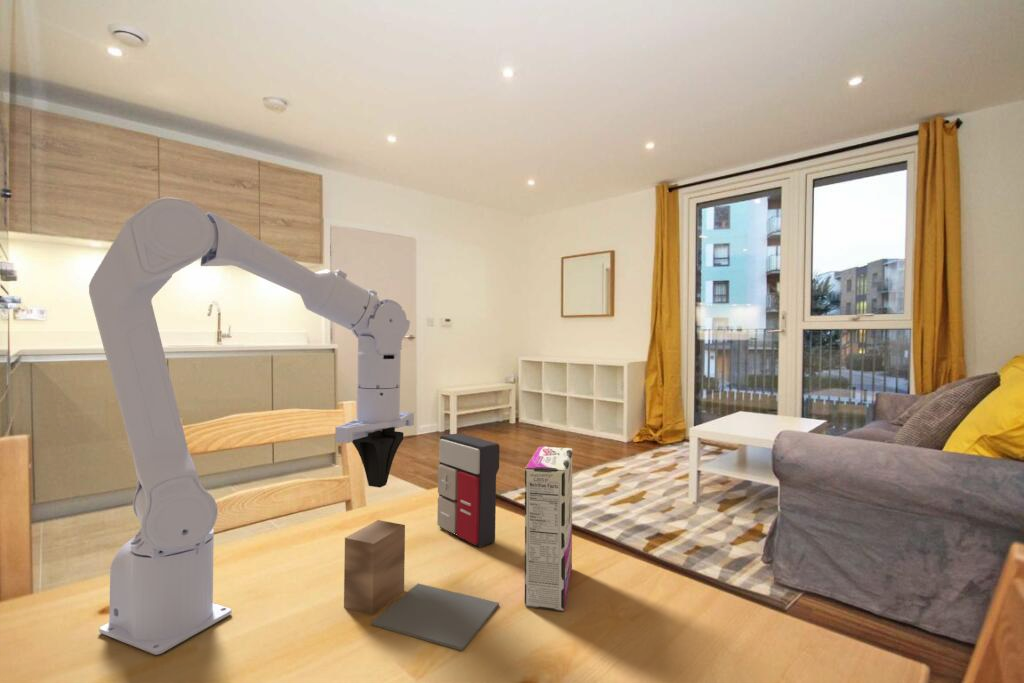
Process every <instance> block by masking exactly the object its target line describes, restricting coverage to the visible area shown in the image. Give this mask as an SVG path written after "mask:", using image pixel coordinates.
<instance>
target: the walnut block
mask: <svg viewBox="0 0 1024 683" xmlns="http://www.w3.org/2000/svg"><path fill="white" fill-rule="evenodd" d="M405 549H406V524H402V523H397V522H391V521H385V520H380V519H377V520H375V521H374V522H372V523H370V524H368V525H366V526H364V527H362V528H360V529H359V530H357V531H355V532H353V533H351V534H349V535H347V536H346V537H344V566H343V568H344V574H343V575H344V577H343V581H344V582H343V608H344V609H347V610H351V611H355V612H358V613H362V614H365V615H368V616H371V617H372V616H374V615H376V614H377V613H378V612H379V611H380V610H382V609H383V608H384V607H385V606H386V605H387V604H389V603H390V602H391V601H393V600H394V599H395V598H396V597H398V596H399V595H400V594H401V593H403V591H405V557H406V556H405V552H406V550H405Z"/></svg>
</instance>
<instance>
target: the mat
mask: <svg viewBox="0 0 1024 683" xmlns="http://www.w3.org/2000/svg"><path fill="white" fill-rule="evenodd" d="M499 606H500V603H499V602H498V601H493V600H488V599H485V598H481V597H476V596H472V595H469V594H468V595H467V594H464V593H460V592H459V593H458V592H455V591H451V590H447V589H443V588H440V587H439V588H438V587H434V586H430V585H426V584H423V583H417V584H415V585H414V586H413V587H412V588H411V589H409V590H408V591H406V592H405V594H403V595H402V596H401V597H400V598H398V599H397V600H396V601H394V602H393V604H391V605H390V606H389V607H388V608H386V609H385V610H384V611H383V612H381V613H380V614H379V615H378V616H376V617H375V618H374V619H372V621H371V626H374V627H378V628H381V629H385V630H387V631H388V630H389V631H392V632H396V633H399V634H402V635H404V636H405V635H406V636H410V637H413V638H416V639H419V640H423V641H427V642H430V643H432V644H433V643H434V644H437V645H441V646H443V647H448V648H449V649H450V648H451V649H453V650H457V651H460V652H464V649H466V647H467V645H469V643H470V642H471V640H473V638H474V637H475V636H476V635H477V633H478V632H479V630H480V629H482V627H483V626H484V624H486V622H487V621H488V619H489V618H490V617H491V616H492V615H493V614H494V612H495V611H496V609H497V608H498V607H499Z"/></svg>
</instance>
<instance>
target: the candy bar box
mask: <svg viewBox="0 0 1024 683" xmlns="http://www.w3.org/2000/svg"><path fill="white" fill-rule="evenodd" d="M573 452H574V451H573V448H572V447H571V448H570V447H561V446H560V447H558V446H547V445H545V446H538V447H537V449H536V451H535V452H534V453H533V455H532V456H531V458H530V460H529V461H528V463H527V464H526V466H525V467H524V606H525V607H527V608H532V609H541V610H551V611H558V612H559V611H560V612H564V611H565V608H566V603H567V598H568V593H569V591H568V590H569V587H570V586H569V585H570V580H571V575H572V570H573Z"/></svg>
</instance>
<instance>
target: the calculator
mask: <svg viewBox="0 0 1024 683" xmlns="http://www.w3.org/2000/svg"><path fill="white" fill-rule="evenodd" d="M438 449H439V454H438V455H439V459H438V460H439V464H438V466H437V467H438V468H437V469H438V470H437V493H438V497H437V517H436V518H437V521H436V522H437V523H436V524H437V526H438V527H439V526H440V527H439V528H441V527H442V528H441V529H443V528H444V529H443V530H445V529H446V530H447V532H448V531H449V532H448V533H450V532H451V533H450V534H452V533H455V534H457V535H458V536H459V537H458V536H457V537H458V538H460V537H461V538H460V539H462V538H463V539H462V540H464V539H465V540H464V541H466V540H467V541H466V542H468V541H469V542H468V543H469V544H471V545H474V546H476V547H477V546H478V547H477V548H482V546H483V547H485V546H488V545H490V543H491V544H493V542H494V543H496V542H495V541H496V509H497V508H496V506H497V505H496V504H497V503H496V502H497V501H496V500H497V495H496V494H497V474H498V472H499V469H500V450H501V449H500V444H499V443H498V442H493V441H490V440H485V439H481V438H478V437H474V436H469V435H466V434H462V433H451V434H444V435H441V436H440V437H439V448H438ZM446 530H445V531H446Z"/></svg>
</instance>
